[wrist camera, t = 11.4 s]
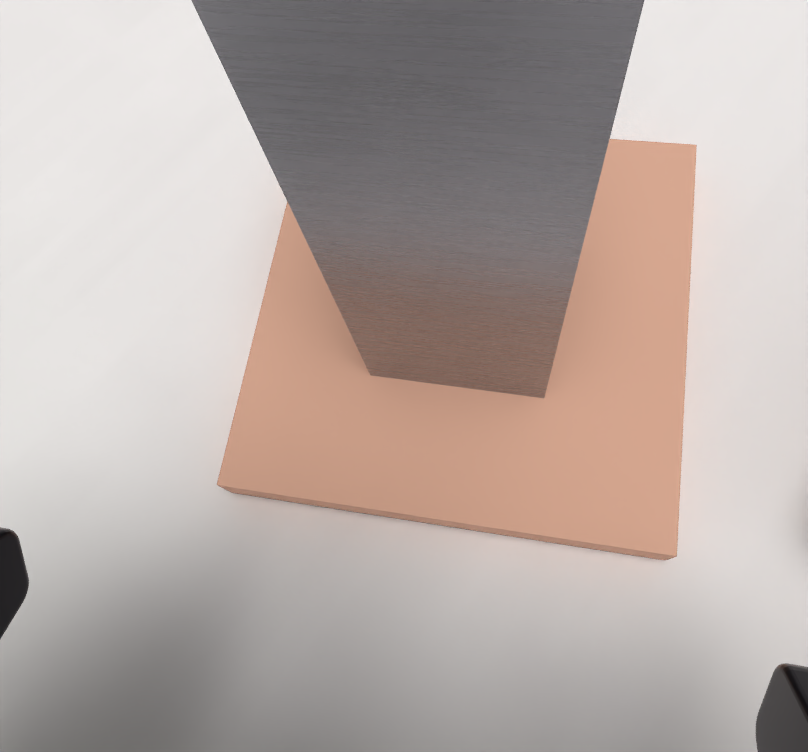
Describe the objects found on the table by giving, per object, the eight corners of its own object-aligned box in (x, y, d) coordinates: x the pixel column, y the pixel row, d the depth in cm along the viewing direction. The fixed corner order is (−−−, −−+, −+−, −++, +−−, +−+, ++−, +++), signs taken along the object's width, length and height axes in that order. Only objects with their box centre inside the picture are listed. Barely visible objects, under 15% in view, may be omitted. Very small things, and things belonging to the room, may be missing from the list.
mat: (664, 560, 15) (676, 556, 15) (231, 492, 17) (216, 484, 16) (686, 169, 19) (696, 144, 18) (316, 142, 20) (308, 118, 19)
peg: (543, 398, 16) (680, -143, 5) (370, 375, 17) (121, -150, 5) (562, 240, 17) (707, -491, 6) (400, 224, 18) (248, -462, 7)
